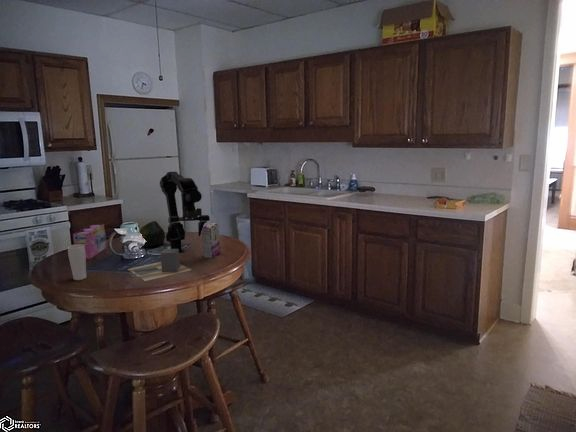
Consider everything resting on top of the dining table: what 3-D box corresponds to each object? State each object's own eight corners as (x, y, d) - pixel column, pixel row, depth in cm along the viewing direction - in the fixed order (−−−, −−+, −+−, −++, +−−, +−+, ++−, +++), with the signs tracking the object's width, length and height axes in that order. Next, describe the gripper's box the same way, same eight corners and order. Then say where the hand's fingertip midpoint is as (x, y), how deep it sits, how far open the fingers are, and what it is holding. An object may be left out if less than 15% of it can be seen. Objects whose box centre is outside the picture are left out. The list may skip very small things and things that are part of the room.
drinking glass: (75, 276, 191) (71, 244, 188) (90, 275, 192) (86, 243, 189) (69, 281, 185) (64, 248, 182) (85, 280, 185) (80, 247, 182)
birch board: (127, 270, 198) (127, 268, 198) (171, 260, 212) (171, 259, 212) (145, 282, 182) (145, 280, 182) (191, 270, 195) (191, 269, 195)
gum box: (94, 246, 242) (91, 223, 239) (108, 246, 242) (105, 223, 239) (75, 259, 218) (72, 233, 216) (90, 258, 219) (87, 233, 216)
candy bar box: (211, 252, 224) (209, 222, 221) (220, 252, 223) (218, 222, 220) (203, 258, 214) (201, 227, 210) (212, 259, 213) (210, 227, 209)
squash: (129, 237, 239) (139, 219, 232) (150, 232, 252) (160, 215, 245) (142, 256, 235) (153, 238, 228) (163, 250, 248) (174, 233, 241)
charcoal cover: (165, 267, 199) (164, 249, 198) (179, 267, 200) (178, 248, 198) (162, 272, 193) (160, 253, 191) (176, 271, 193) (175, 252, 191)
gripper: (172, 203, 192) (173, 237, 191) (212, 202, 201) (213, 235, 200) (167, 205, 202) (168, 238, 201) (205, 204, 211) (207, 236, 210)
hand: (190, 236), depth 203 cm, fingers open, 9 cm apart
